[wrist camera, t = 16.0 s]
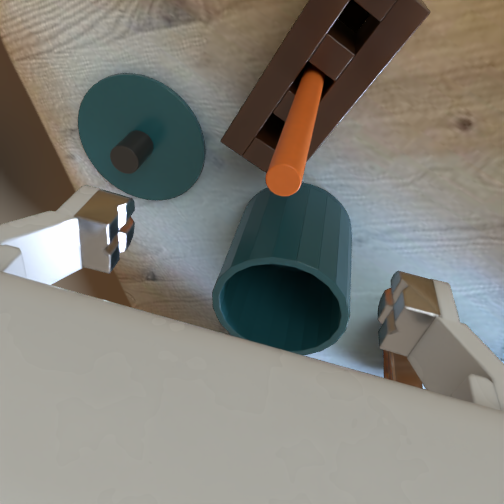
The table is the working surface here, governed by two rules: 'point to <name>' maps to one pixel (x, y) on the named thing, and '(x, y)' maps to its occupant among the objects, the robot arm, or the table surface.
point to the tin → (400, 369)
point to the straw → (296, 135)
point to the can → (288, 272)
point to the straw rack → (329, 62)
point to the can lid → (141, 136)
